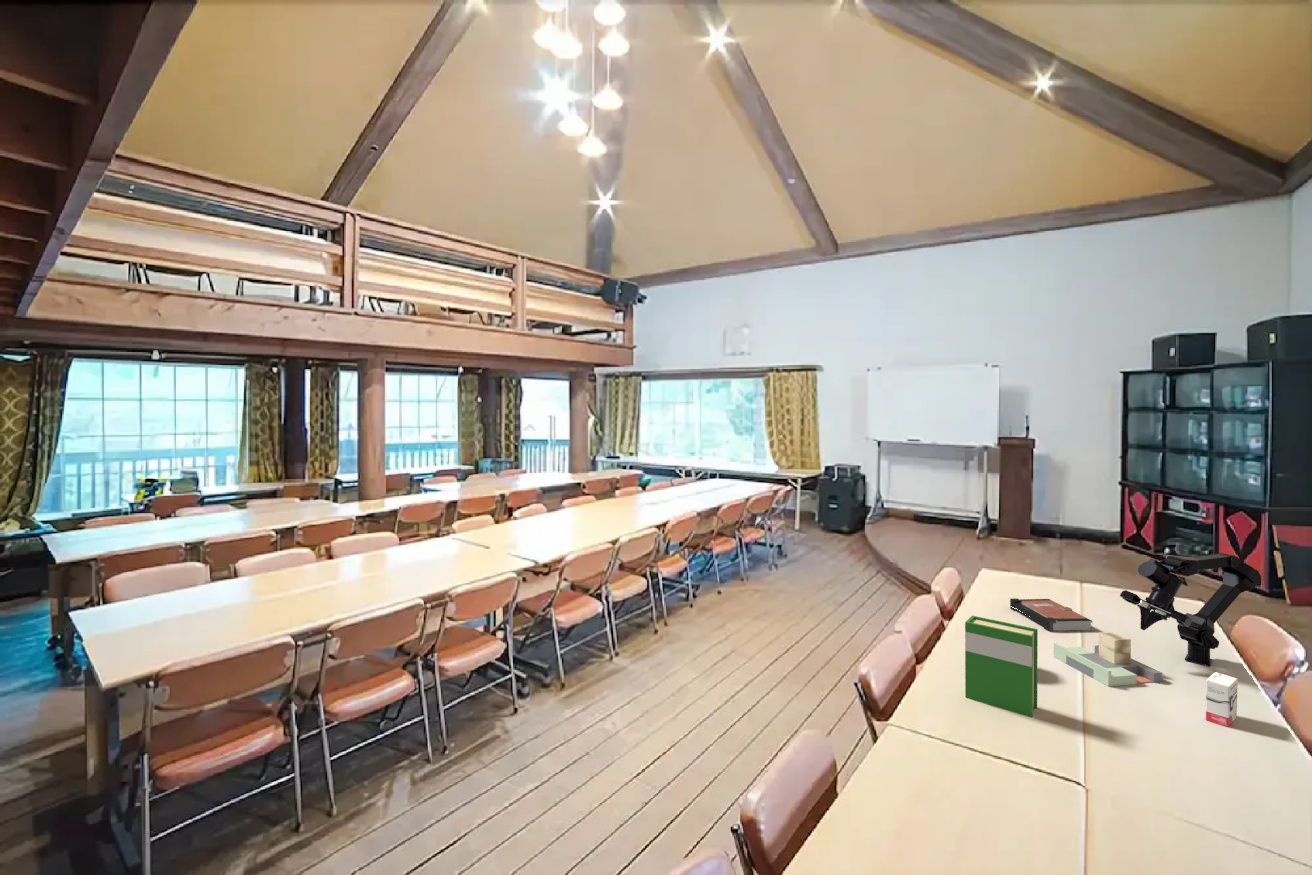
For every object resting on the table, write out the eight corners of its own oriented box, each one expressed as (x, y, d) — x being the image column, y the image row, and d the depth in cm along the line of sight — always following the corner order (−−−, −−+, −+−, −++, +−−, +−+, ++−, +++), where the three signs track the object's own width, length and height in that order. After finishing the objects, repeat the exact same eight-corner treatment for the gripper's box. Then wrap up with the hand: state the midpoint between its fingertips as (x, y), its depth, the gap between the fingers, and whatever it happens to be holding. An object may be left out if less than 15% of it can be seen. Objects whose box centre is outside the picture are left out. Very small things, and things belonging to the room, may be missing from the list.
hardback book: (1037, 707, 172) (1037, 628, 171) (1031, 717, 166) (1032, 636, 165) (972, 688, 184) (972, 615, 183) (965, 697, 179) (965, 622, 178)
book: (1094, 632, 226) (1094, 619, 226) (1049, 632, 227) (1049, 620, 227) (1050, 608, 253) (1050, 597, 252) (1010, 609, 253) (1010, 598, 253)
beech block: (1114, 654, 198) (1114, 632, 198) (1130, 662, 192) (1130, 639, 192) (1098, 656, 198) (1098, 633, 197) (1114, 663, 192) (1114, 640, 191)
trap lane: (1102, 652, 207) (1102, 639, 206) (1162, 681, 185) (1162, 666, 185) (1053, 656, 205) (1053, 643, 204) (1108, 686, 183) (1108, 671, 183)
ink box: (1228, 727, 158) (1229, 686, 158) (1204, 719, 163) (1205, 679, 162) (1237, 717, 163) (1238, 677, 162) (1213, 710, 167) (1214, 671, 167)
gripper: (1206, 611, 191) (1183, 651, 191) (1141, 585, 208) (1120, 622, 208) (1196, 600, 186) (1172, 641, 186) (1130, 574, 203) (1108, 613, 202)
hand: (1142, 629), depth 196 cm, fingers closed
